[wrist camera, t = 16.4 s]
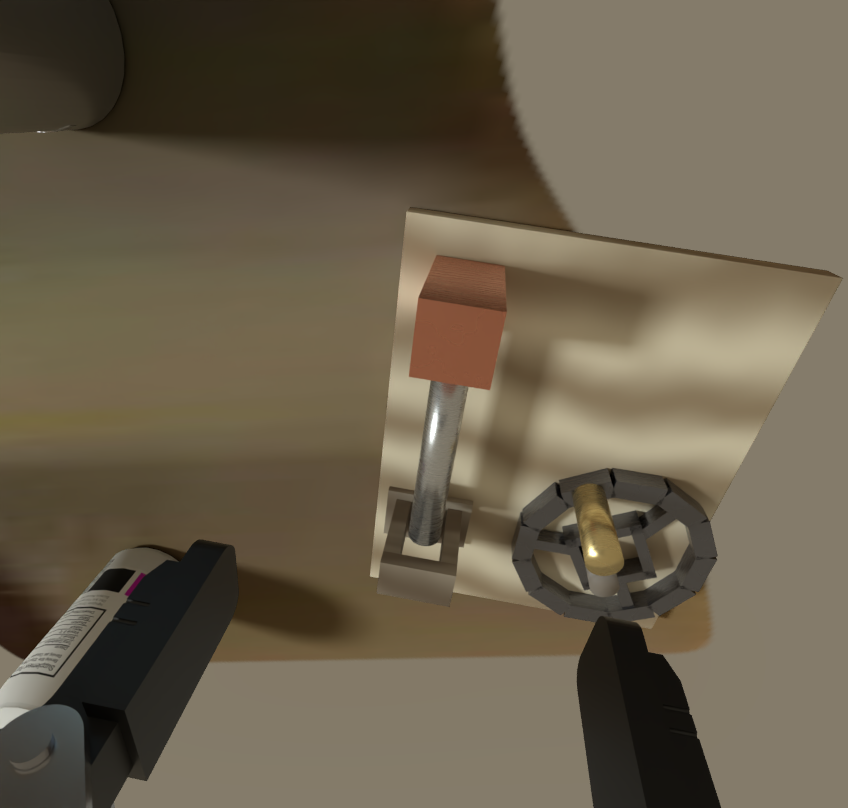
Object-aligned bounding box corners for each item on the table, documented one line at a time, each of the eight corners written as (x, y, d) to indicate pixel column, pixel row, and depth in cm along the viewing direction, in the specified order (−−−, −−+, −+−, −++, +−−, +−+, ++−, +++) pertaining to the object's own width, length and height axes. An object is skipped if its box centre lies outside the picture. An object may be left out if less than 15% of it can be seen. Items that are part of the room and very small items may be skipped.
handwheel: (487, 494, 38) (484, 572, 32) (687, 444, 34) (732, 522, 28) (544, 619, 44) (552, 706, 38) (721, 589, 40) (764, 682, 33)
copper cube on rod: (436, 255, 30) (418, 297, 23) (505, 265, 30) (506, 312, 23) (404, 493, 39) (384, 574, 32) (456, 502, 39) (447, 585, 32)
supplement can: (201, 559, 48) (92, 724, 35) (193, 612, 52) (92, 777, 39) (116, 531, 48) (-26, 688, 35) (115, 586, 52) (-13, 745, 39)
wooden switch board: (410, 207, 30) (383, 237, 23) (827, 270, 29) (934, 323, 22) (373, 563, 45) (350, 647, 38) (646, 613, 44) (675, 710, 37)
